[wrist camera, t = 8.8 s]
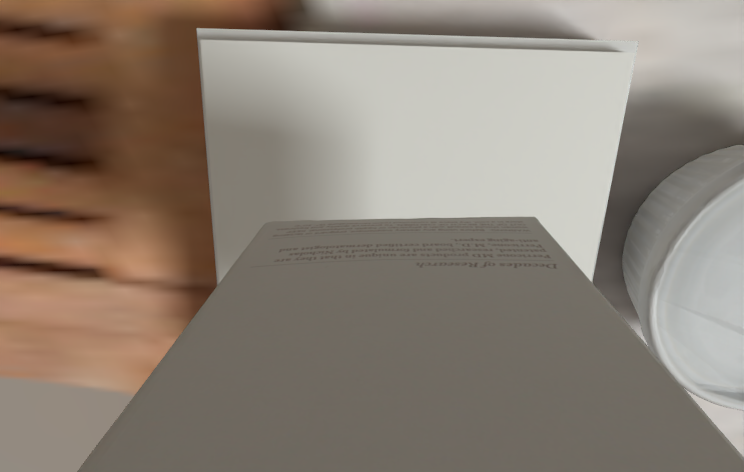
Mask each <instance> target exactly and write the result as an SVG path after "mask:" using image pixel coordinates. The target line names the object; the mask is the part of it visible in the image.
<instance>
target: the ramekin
mask: <svg viewBox="0 0 744 472" xmlns="http://www.w3.org/2000/svg"><path fill="white" fill-rule="evenodd" d="M622 259H623V273H624V281H625V284H626V286H627V292H628V294H629V296H630V299H631V301H632V303H633V305H634V307H635V310H636V312H637V314H638V316H639V319H640V325H641V329H642V332H643V335H644V337H645V340H646V342H647V345H648V347H649V349H650V350H651V351H652V352H653V353H654V354H655V356H656V357H657V358H658V359H659V360H660V361H661V362H662V364H663V365H664V366H665V367H666V368H667V369H668V370H669V372H670V373H671V374H672V375H673V376H674V377H675V379H676V380H677V381H678V382H679V383H680V384H681V386H682V387H683V388H685V389H686V390H688V391H689V392H691V393H693V394H694V395H696V396H698V397H700V398H702V399H704V400H707V401H709V402H711V403H714V404H717V405H720V406H723V407H727V408H732V409H737V410H742V411H744V145H734V146H731V147H728V148H724V149H719V150H716V151H714V152H712V153H710V154H705V155H702V156H700V157H699V158H697V159H696V160H694V161H691V162H689V163H687V164H685V165H684V166H683V167H681V168H680V169H678V170H676V171H674V172H673V173H672V174H671V175H669V176H668V177H667V178H666V179H664V180H663V181H662V182H661V183H660V184H659V185H658V186H657V187H656V188H655V189H654V190H653V191H652V192H651V193H650V194H649V196H648V197H647V199H646V200H645V201H644V202H643V203H642V205H641V206H640V208H639V210H638V212H637V214H636V215H635V216H634V218H633V221H632V224H631V226H630V228H629V230H628V232H627V237H626V240H625V243H624V252H623V256H622Z"/></svg>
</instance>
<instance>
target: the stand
mask: <svg viewBox="0 0 744 472" xmlns="http://www.w3.org/2000/svg"><path fill="white" fill-rule="evenodd" d="M196 29H197V41H198V53H199V66H200V78H201V91H202V103H203V115H204V128H205V140H206V152H207V165H208V177H209V190H210V202H211V214H212V227H213V239H214V252H215V264H216V276H217V286H218V284H219V283H220V282H221V280H222V279H223V277H224V276H225V275H226V273H227V272H228V271H229V269H230V268H231V267H232V265H233V264H234V263H235V261H236V260H237V259H238V258H239V256H240V255H241V254H242V252H243V251H244V250H245V249H246V247H247V246H248V245H249V243H250V242H251V241H252V239H253V238H254V237H255V235H256V234H257V233H258V231H259V230H260V229H261V227H262V226H263V225H264V224H265V223H267V222H272V221H301V220H313V221H319V220H360V219H413V218H467V217H536V218H537V219H538V220H539V222H540V223H541V224H542V225H543V226H544V228H545V229H546V230H547V231H548V232H549V233H550V234H551V236H552V237H553V238H554V239H555V240H556V241H557V243H558V244H559V245H560V246H561V247H562V248H563V250H564V251H565V252H566V253H567V254H568V255H569V256H570V258H571V259H572V260H573V261H574V262H575V263H576V265H577V266H578V267H579V268H580V269H581V270H582V271H583V273H584V274H585V275H586V276H587V277H588V278H589V280H590V281H591V282H592V281H593V276H594V271H595V265H596V260H597V255H598V250H599V245H600V239H601V234H602V229H603V224H604V219H605V213H606V208H607V203H608V198H609V193H610V187H611V182H612V177H613V172H614V167H615V161H616V156H617V151H618V146H619V141H620V135H621V130H622V125H623V120H624V115H625V109H626V104H627V99H628V94H629V89H630V83H631V78H632V73H633V68H634V63H635V58H636V52H637V47H638V42H639V41H613V40H580V39H546V38H512V37H479V36H445V35H411V34H378V33H344V32H310V31H277V30H243V29H209V28H196Z"/></svg>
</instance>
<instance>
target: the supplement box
mask: <svg viewBox="0 0 744 472" xmlns="http://www.w3.org/2000/svg"><path fill="white" fill-rule="evenodd" d="M77 472H744V457H743V456H742V455H741V454H740V453H739V452H738V450H737V449H736V448H735V447H734V446H733V445H732V444H731V442H730V441H729V440H728V439H727V438H726V437H725V436H724V434H723V433H722V432H721V431H720V430H719V429H718V427H717V426H716V425H715V424H714V423H713V422H712V421H711V419H710V418H709V417H708V416H707V415H706V414H705V412H704V411H703V410H702V409H701V408H700V407H699V405H698V404H697V403H696V402H695V401H694V400H693V398H692V397H691V396H690V395H689V394H688V393H687V391H686V390H685V389H684V388H683V387H682V386H681V384H680V383H679V382H678V381H677V380H676V379H675V377H674V376H673V375H672V374H671V373H670V372H669V370H668V369H667V368H666V367H665V366H664V365H663V364H662V362H661V361H660V360H659V359H658V358H657V357H656V356H655V354H654V353H653V352H652V351H651V350H650V349H649V347H648V346H647V345H646V344H645V343H644V341H643V340H642V339H641V338H640V337H639V336H638V335H637V333H636V332H635V331H634V330H633V329H632V328H631V327H630V325H629V324H628V323H627V322H626V321H625V320H624V319H623V318H622V316H621V315H620V314H619V313H618V312H617V311H616V310H615V308H614V307H613V306H612V305H611V304H610V303H609V302H608V300H607V299H606V298H605V297H604V296H603V295H602V294H601V292H600V291H599V290H598V289H597V288H596V287H595V285H594V284H593V283H592V282H591V281H590V280H589V278H588V277H587V276H586V275H585V274H584V273H583V271H582V270H581V269H580V268H579V267H578V266H577V265H576V263H575V262H574V261H573V260H572V259H571V258H570V256H569V255H568V254H567V253H566V252H565V251H564V250H563V248H562V247H561V246H560V245H559V244H558V243H557V241H556V240H555V239H554V238H553V237H552V236H551V234H550V233H549V232H548V231H547V230H546V229H545V228H544V226H543V225H542V224H541V223H540V222H539V220H538V219H537V218H536V217H467V218H413V219H360V220H319V221H313V220H301V221H272V222H267V223H265V224H264V225H263V226H262V227H261V229H260V230H259V231H258V233H257V234H256V235H255V237H254V238H253V239H252V241H251V242H250V243H249V245H248V246H247V247H246V249H245V250H244V251H243V252H242V254H241V255H240V256H239V258H238V259H237V260H236V261H235V263H234V264H233V265H232V267H231V268H230V269H229V271H228V272H227V273H226V275H225V276H224V277H223V279H222V280H221V282H220V283H219V284H218V286H217V287H216V288H215V290H214V291H213V292H212V294H211V295H210V296H209V298H208V299H207V300H206V301H205V303H204V304H203V305H202V307H201V308H200V309H199V311H198V312H197V313H196V315H195V316H194V317H193V319H192V320H191V321H190V323H189V324H188V325H187V327H186V328H185V329H184V331H183V332H182V333H181V335H180V336H179V337H178V339H177V340H176V341H175V343H174V344H173V345H172V347H171V348H170V349H169V351H168V352H167V353H166V355H165V356H164V357H163V359H162V360H161V361H160V363H159V364H158V365H157V367H156V368H155V369H154V371H153V372H152V373H151V375H150V376H149V377H148V379H147V380H146V381H145V383H144V384H143V385H142V387H141V388H140V389H139V390H138V392H137V393H136V394H135V396H134V397H133V398H132V400H131V401H130V403H129V404H128V405H127V406H126V408H125V409H124V410H123V412H122V413H121V414H120V416H119V417H118V419H117V420H116V421H115V422H114V424H113V425H112V426H111V428H110V429H109V430H108V432H107V433H106V434H105V435H104V437H103V438H102V439H101V441H100V442H99V443H98V445H97V446H96V447H95V449H94V450H93V451H92V453H91V454H90V455H89V457H88V458H87V459H86V461H85V462H84V463H83V465H82V466H81V467H80V469H79V470H78V471H77Z"/></svg>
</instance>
